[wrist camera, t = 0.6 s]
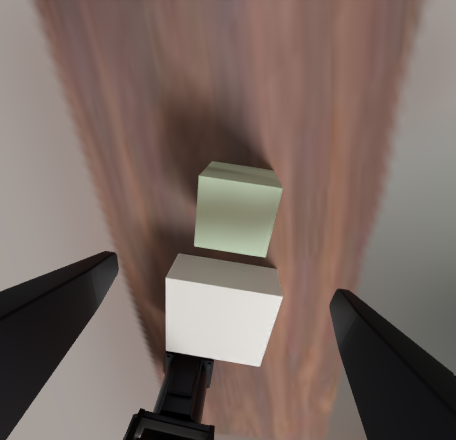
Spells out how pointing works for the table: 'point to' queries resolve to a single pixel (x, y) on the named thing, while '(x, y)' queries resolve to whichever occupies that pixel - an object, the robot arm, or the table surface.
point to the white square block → (220, 308)
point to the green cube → (236, 208)
